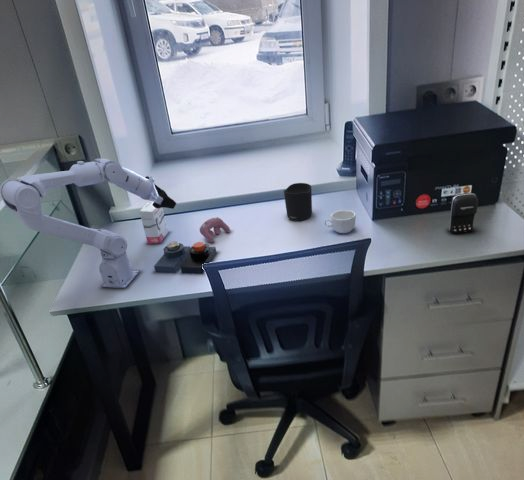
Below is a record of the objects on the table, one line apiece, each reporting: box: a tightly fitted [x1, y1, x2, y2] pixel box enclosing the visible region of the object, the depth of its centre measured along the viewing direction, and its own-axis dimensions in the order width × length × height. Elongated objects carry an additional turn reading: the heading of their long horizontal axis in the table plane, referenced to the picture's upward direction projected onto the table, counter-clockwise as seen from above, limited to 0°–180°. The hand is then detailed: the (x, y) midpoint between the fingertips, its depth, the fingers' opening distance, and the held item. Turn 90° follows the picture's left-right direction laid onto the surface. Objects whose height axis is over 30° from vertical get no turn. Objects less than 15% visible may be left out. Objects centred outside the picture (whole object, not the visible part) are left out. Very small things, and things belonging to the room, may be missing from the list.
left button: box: [166, 241, 179, 251], centre depth 159 cm, size 4×4×2 cm
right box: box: [179, 243, 218, 275], centre depth 157 cm, size 13×7×4 cm, turn 164°
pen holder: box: [283, 182, 313, 222], centre depth 172 cm, size 9×9×10 cm
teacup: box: [324, 209, 357, 234], centre depth 161 cm, size 10×8×5 cm
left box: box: [153, 242, 191, 274], centre depth 159 cm, size 13×7×4 cm, turn 164°
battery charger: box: [448, 192, 479, 234], centre depth 149 cm, size 7×4×11 cm, turn 90°
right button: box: [192, 241, 205, 252], centre depth 157 cm, size 4×4×2 cm
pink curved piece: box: [199, 216, 231, 243], centre depth 170 cm, size 10×5×7 cm, turn 141°
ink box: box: [139, 201, 169, 245], centre depth 172 cm, size 9×5×12 cm, turn 168°
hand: (168, 200), depth 157 cm, fingers open, 7 cm apart
